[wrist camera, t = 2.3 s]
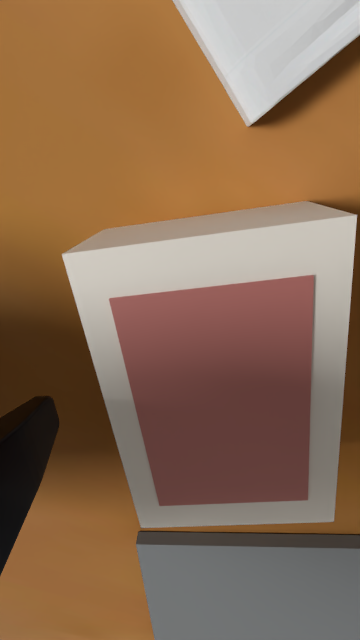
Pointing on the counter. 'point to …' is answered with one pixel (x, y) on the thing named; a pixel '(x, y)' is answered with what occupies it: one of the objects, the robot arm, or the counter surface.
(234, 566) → the mat
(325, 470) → the card box
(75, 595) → the counter surface
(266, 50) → the external hard drive
